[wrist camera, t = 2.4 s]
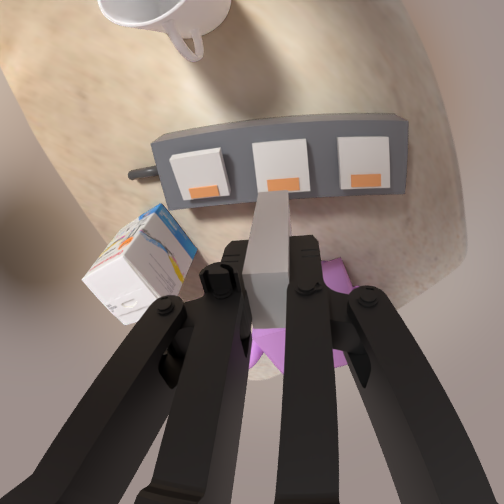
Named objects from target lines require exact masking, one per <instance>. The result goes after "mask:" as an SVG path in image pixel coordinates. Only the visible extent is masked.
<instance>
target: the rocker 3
mask: <svg viewBox="0 0 504 504" xmlns="http://www.w3.org/2000/svg"><path fill="white" fill-rule="evenodd" d="M336 138H337V151H338V166H339V184H340V188H341V189H365V188H390V155H389V137H386V136H355V137H336Z"/></svg>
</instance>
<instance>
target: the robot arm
mask: <svg viewBox="0 0 504 504" xmlns="http://www.w3.org/2000/svg"><path fill="white" fill-rule="evenodd" d="M199 276H200V280H201V283H202V286H203V289H204V292H205V293H204V296H203V297H201V298H199V299H196V300H192V301H188V302H184V303H183V301H182V299H181V298H180V297H178V296H176V295H166V296H162V297H160V298H158V299H156V300H155V301H154V302H153V303H152V304H151V305H150V306H149V307H148V309H147V310H146V311H145V313H144V314H143V315H142V317H141V318H140V319H139V321H138V322H137V323H136V325H135V326H134V327H133V329H132V330H131V331H130V333H129V334H128V335H127V336H126V338H125V339H124V341H123V342H122V343H121V345H120V346H119V347H118V349H117V350H116V351H115V353H114V354H113V356H112V357H111V358H110V360H109V361H108V362H107V364H106V365H105V367H104V368H103V369H102V371H101V372H100V373H99V375H98V376H97V378H96V379H95V380H94V382H93V383H92V385H91V386H90V388H89V389H88V390H87V392H86V393H85V395H84V396H83V398H82V399H81V401H80V402H79V403H78V405H77V407H76V408H75V409H74V411H73V412H72V414H71V415H70V417H69V418H68V420H67V422H66V423H65V424H64V426H63V427H62V429H61V430H60V432H59V433H58V435H57V436H56V438H55V439H54V441H53V442H52V444H51V446H50V447H49V449H48V450H47V452H46V453H45V455H44V456H43V458H42V460H41V461H40V463H39V464H38V466H37V468H36V469H35V471H34V472H33V474H32V475H31V476H29V477H28V478H27V479H26V480H25V481H23V482H22V483H20V484H19V485H18V486H17V487H15V488H14V489H12V490H11V491H10V492H9V493H7V494H6V495H5V496H3V497H2V498H1V499H0V504H118V503H119V502H120V500H121V498H122V496H123V494H124V493H125V491H126V489H127V487H128V486H129V484H130V482H131V480H132V479H133V477H134V475H135V473H136V472H137V470H138V468H139V466H140V464H141V463H142V461H143V459H144V457H145V456H146V454H147V452H148V450H149V448H150V447H151V445H152V443H153V441H154V440H155V438H156V436H157V434H158V432H159V431H160V429H161V427H162V425H163V423H164V421H165V420H166V418H167V416H168V415H169V416H168V420H167V424H166V427H165V431H164V435H163V439H162V442H161V446H160V450H159V454H158V458H157V462H156V465H155V469H154V474H153V477H152V480H151V483H150V484H149V485H148V486H147V487H145V488H144V489H142V490H141V491H140V492H139V494H138V495H137V497H136V500H135V502H134V504H230V503H231V497H232V490H233V483H234V475H235V468H236V461H237V453H238V446H239V439H240V432H241V424H242V417H243V409H244V402H245V394H246V386H247V378H248V371H249V363H250V355H251V347H252V334H251V324H253V329H270V328H286V331H285V356H284V379H283V397H282V414H281V430H280V445H279V457H278V470H277V482H276V494H275V501H274V504H340V503H339V452H338V424H337V423H338V421H337V402H336V386H335V371H334V359H333V349H335V350H340V351H343V354H344V356H345V359H346V361H347V364H348V366H349V368H350V371H351V373H352V376H353V378H354V380H355V383H356V385H357V388H358V390H359V392H360V395H361V397H362V400H363V402H364V405H365V407H366V410H367V412H368V415H369V418H370V420H371V423H372V425H373V428H374V430H375V433H376V436H377V438H378V441H379V444H380V446H381V448H382V451H383V454H384V457H385V459H386V462H387V465H388V468H389V470H390V473H391V476H392V479H393V482H394V484H395V487H396V490H397V493H398V496H399V499H400V502H401V504H498V503H497V502H496V499H495V497H494V494H493V492H492V489H491V487H490V484H489V482H488V479H487V477H486V474H485V472H484V470H483V467H482V465H481V463H480V461H479V459H478V456H477V454H476V452H475V450H474V448H473V445H472V443H471V441H470V439H469V437H468V435H467V433H466V431H465V429H464V427H463V425H462V423H461V421H460V419H459V417H458V415H457V413H456V411H455V409H454V407H453V405H452V403H451V402H450V400H449V398H448V396H447V394H446V392H445V390H444V389H443V387H442V385H441V383H440V382H439V380H438V378H437V376H436V374H435V373H434V371H433V369H432V368H431V366H430V364H429V363H428V361H427V359H426V357H425V355H424V354H423V352H422V350H421V349H420V347H419V346H418V344H417V342H416V341H415V339H414V337H413V336H412V334H411V333H410V331H409V329H408V328H407V326H406V325H405V323H404V321H403V320H402V318H401V317H400V315H399V314H398V312H397V311H396V309H395V307H394V306H393V304H392V303H391V301H390V300H389V298H388V297H387V295H386V294H385V293H384V292H383V291H382V290H381V289H378V288H376V287H373V286H359V287H357V288H355V289H353V290H352V291H351V292H350V293H349V294H345V293H340V292H336V291H334V290H332V289H330V288H329V287H328V286H327V285H326V284H325V282H324V279H323V272H322V265H321V257H320V250H319V243H318V241H317V239H316V238H315V237H314V236H313V235H304V236H292V230H291V218H290V207H289V197H288V190H280V191H268V192H258V197H257V202H256V207H255V212H254V217H253V222H252V227H251V232H250V237H249V240H239V241H231V242H230V243H229V244H228V245H227V246H226V248H225V250H224V253H223V257H222V260H221V262H217V263H213V264H211V265H208V266H206V267H205V268H204V269H203V270H202V271H201V272H200V274H199Z"/></svg>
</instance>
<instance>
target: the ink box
mask: <svg viewBox="0 0 504 504" xmlns="http://www.w3.org/2000/svg"><path fill="white" fill-rule="evenodd" d="M196 251H197V248H196V247H195V246H194V245H193V243H192V242H191V241H190V240H189V238H188V237H187V235H186V234H185V233H184V231H183V230H182V229H181V228H180V226H179V225H178V223H177V222H176V221H175V220H174V218H173V217H172V216H171V214H170V213H169V212H168V211H167V209H166V208H165V207H164V206H163V205H162V204H159V205H157V206H155V207H154V208H152V209H151V210H149V211H147V212H146V213H144V214H143V215H141V216H139V217H138V218H136V219H135V220H133V221H132V222H130V223H129V224H127V225H126V226H124V227H123V228H121V229H120V231H119V232H118V233H117V234H116V236H115V237H114V238H113V240H112V241H111V242H110V243H109V245H108V246H107V247H106V249H105V250H104V251H103V252H102V254H101V255H100V256H99V258H98V259H97V260H96V262H95V263H94V264H93V266H92V267H91V268H90V270H89V271H88V272H87V274H86V275H85V276H84V278H82V281H83V282H84V283H85V284H86V285H87V287H88V288H89V289H90V290H91V291H92V292H93V293H94V295H95V296H96V297H97V298H98V299H99V300H100V301H101V302H102V303H103V304H104V306H105V307H106V308H107V309H108V310H109V311H110V312H111V313H112V314H113V315H114V316H115V317H116V318H117V319H118V320H119V321H120V322H122V324H123V325H128V324H132V323H135V322H138V321H139V319H140V318H141V317H142V315H143V314H144V313H145V311H146V310H147V309H148V307H149V306H150V305H151V304H152V303H153V302H154V301H155V300H156V299H158V298H160V297H162V296H166V295H176V296H178V294H179V291H180V289H181V286H182V284H183V282H184V279H185V277H186V275H187V272H188V270H189V268H190V265H191V263H192V261H193V258H194V256H195V254H196Z"/></svg>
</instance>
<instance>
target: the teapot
mask: <svg viewBox="0 0 504 504" xmlns="http://www.w3.org/2000/svg"><path fill="white" fill-rule="evenodd" d="M321 265H322V272H323V279H324V282H325V284H326V285H327V286H328V287H329V288H330V289H332V290H334V291H336V292H340V293H345V294H349V293H350V292H351V291H352V290H353V289H355V288H357V287H359V286H354V287H353V286H352V283H351V281H350V279H349V276H348V274H347V271H346V269H345V266H344V264H343V262H342V259H341V257H340V258H337V259H334V260H331V261H329V262H328V261H321ZM285 331H286V328H270V329H253V331H252V347H251V355H250V363H249V369H250V368H252V367H253V366H254V365H255V364H256V363H257V361H258V360H259V359H260V357H261V356H262V354H263V353H265V354H266V355H267V356H268V358H269V359H270V360H271V361H272V362H273V364H274V365H275V366H276V367H277V368H278V369H279V370H280V371H281V373H282V374H283V375H284V356H285ZM333 359H334V368H337V367H340V366H344V365H347V361H346V359H345V356H344V354H343V351H340V350H335V349H333Z"/></svg>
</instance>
